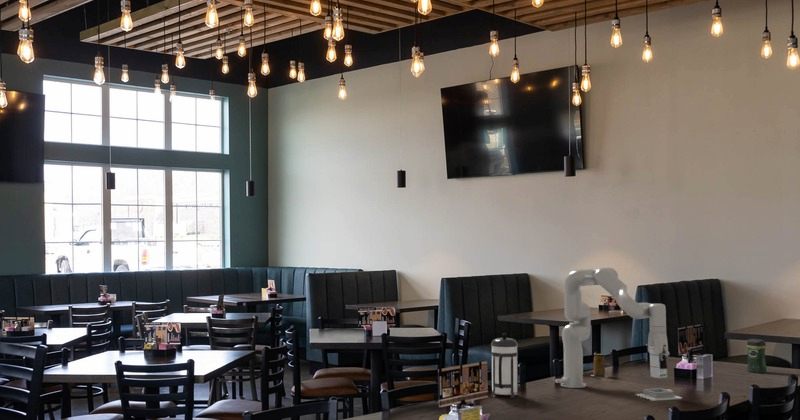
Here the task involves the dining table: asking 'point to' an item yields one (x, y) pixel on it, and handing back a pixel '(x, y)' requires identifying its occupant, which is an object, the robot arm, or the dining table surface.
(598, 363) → the condiment
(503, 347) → the coffee press
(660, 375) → the syrup box
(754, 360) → the coffee jar
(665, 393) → the chassis plate
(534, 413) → the dining table surface
